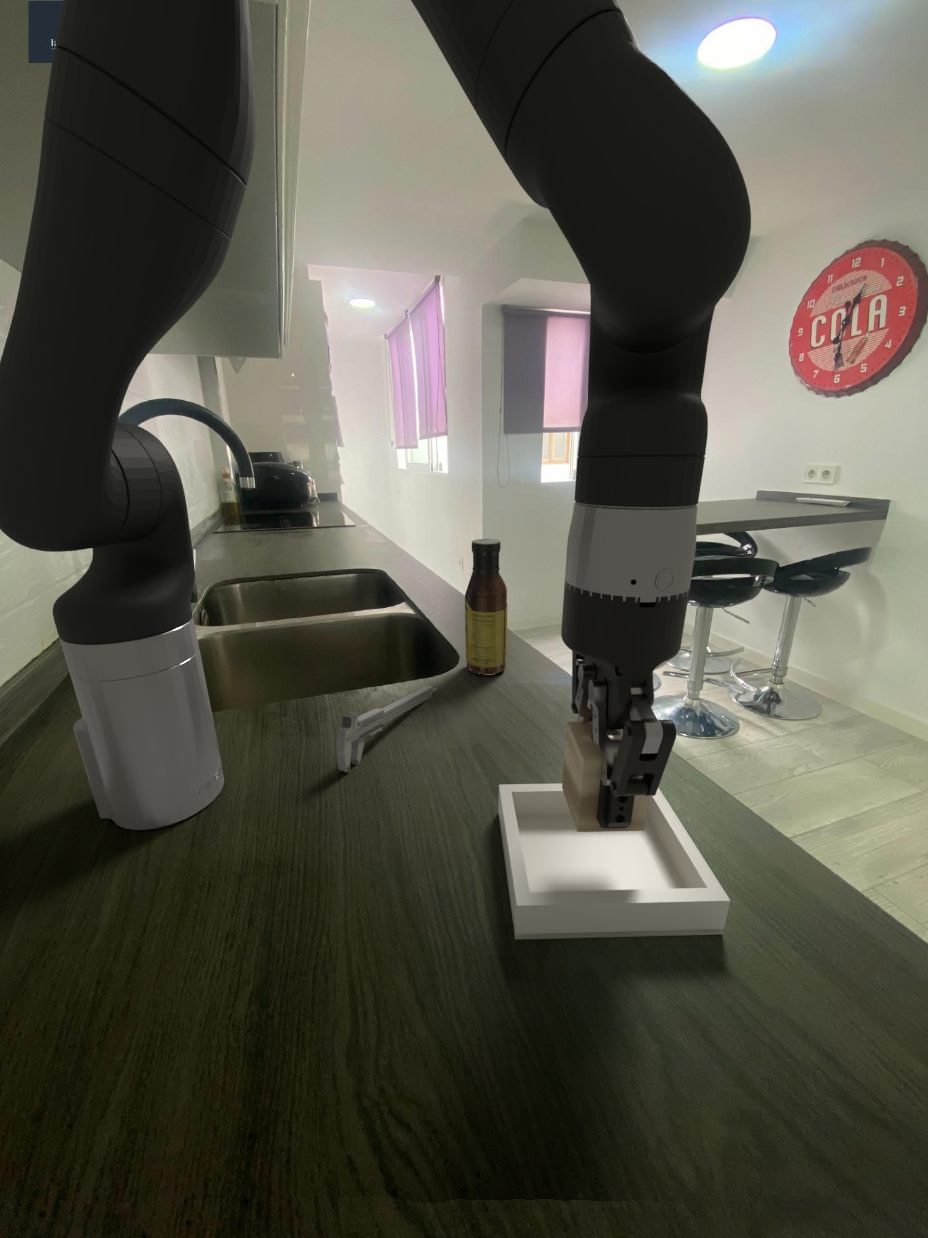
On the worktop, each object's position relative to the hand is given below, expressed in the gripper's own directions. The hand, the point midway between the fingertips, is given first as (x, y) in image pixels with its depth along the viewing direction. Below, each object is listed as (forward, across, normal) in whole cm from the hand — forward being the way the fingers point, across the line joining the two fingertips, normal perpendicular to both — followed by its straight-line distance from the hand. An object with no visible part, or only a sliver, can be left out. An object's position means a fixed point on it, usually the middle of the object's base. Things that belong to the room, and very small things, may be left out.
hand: (601, 797), depth 35 cm
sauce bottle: (+7, -37, -6) cm, 38 cm away
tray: (+6, 0, 0) cm, 6 cm away
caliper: (+7, -21, -18) cm, 29 cm away
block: (+1, 0, 0) cm, 1 cm away
